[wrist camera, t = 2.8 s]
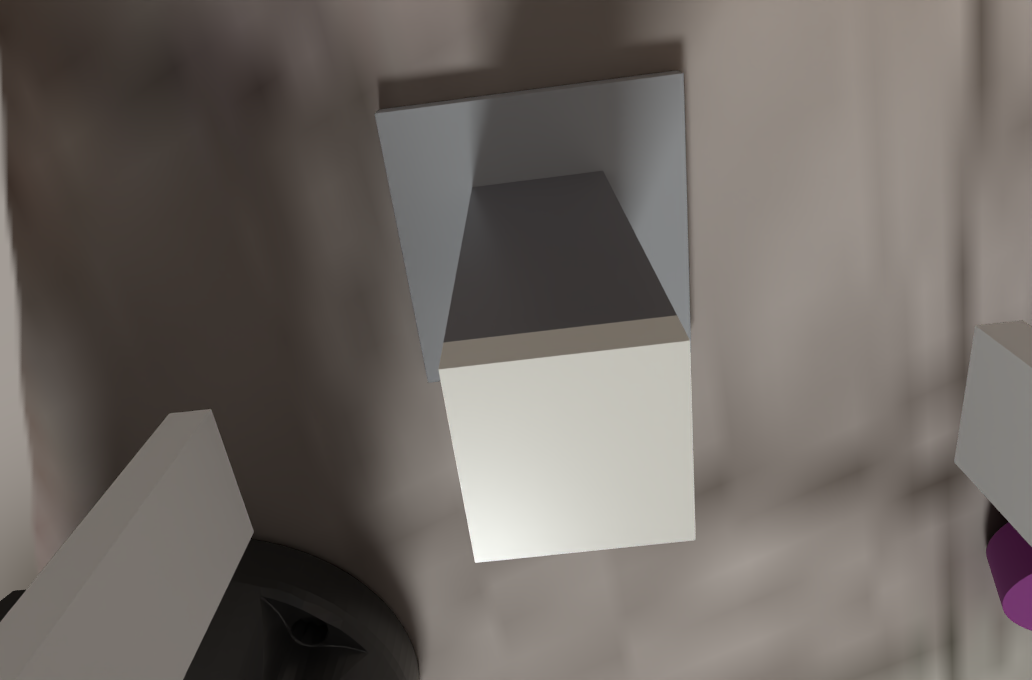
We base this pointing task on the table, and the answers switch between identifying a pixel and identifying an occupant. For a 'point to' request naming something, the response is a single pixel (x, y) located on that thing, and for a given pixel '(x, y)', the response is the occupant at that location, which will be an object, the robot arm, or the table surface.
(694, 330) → the table surface
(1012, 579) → the mounting bracket
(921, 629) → the table surface
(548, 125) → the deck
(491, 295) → the plug
